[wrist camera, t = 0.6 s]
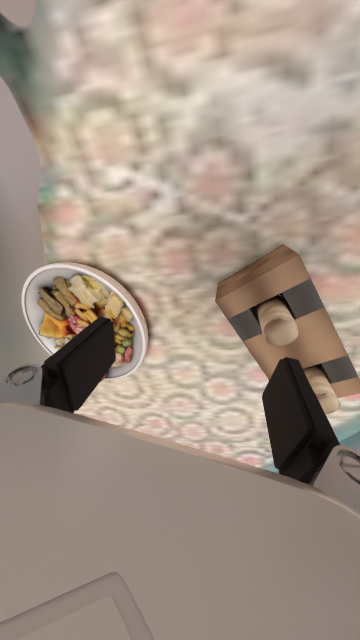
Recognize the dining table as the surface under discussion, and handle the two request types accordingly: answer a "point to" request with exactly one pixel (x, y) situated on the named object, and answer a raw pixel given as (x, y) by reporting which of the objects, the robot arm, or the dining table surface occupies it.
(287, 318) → the beech peg
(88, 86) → the dining table surface
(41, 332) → the bowl
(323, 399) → the beech peg
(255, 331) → the banded wooden block
